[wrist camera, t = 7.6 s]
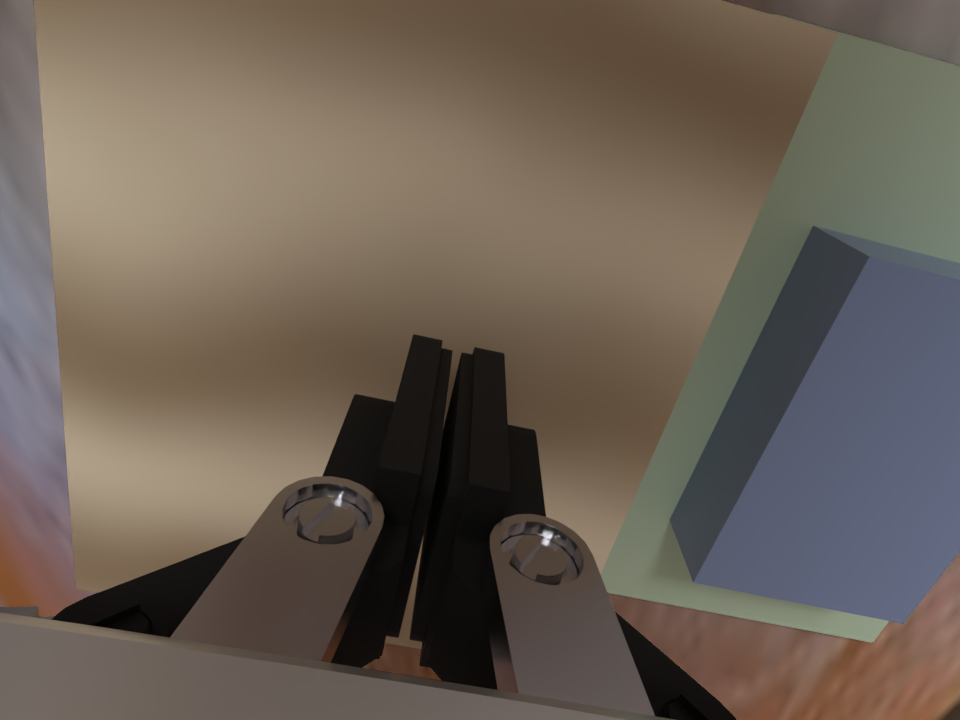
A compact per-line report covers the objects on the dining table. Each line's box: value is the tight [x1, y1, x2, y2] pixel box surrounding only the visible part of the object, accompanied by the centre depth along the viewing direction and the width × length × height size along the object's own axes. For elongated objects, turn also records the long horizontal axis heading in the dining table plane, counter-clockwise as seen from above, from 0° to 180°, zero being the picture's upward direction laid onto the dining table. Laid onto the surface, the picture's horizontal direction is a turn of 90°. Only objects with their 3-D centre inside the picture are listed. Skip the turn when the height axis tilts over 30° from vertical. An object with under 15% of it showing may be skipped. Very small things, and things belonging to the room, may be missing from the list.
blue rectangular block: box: [670, 226, 960, 624], centre depth 16 cm, size 9×6×2 cm, turn 166°
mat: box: [601, 13, 960, 643], centre depth 17 cm, size 16×11×1 cm
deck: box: [33, 0, 838, 649], centre depth 14 cm, size 15×12×4 cm
